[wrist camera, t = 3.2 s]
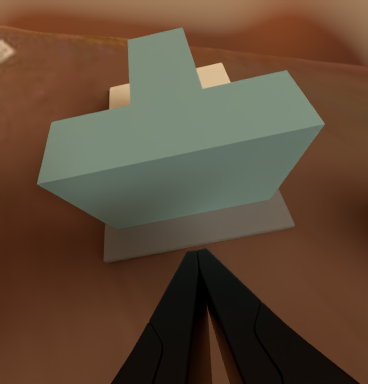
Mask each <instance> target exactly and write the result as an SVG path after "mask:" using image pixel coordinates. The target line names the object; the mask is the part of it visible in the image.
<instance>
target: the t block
mask: <svg viewBox="0 0 368 384" xmlns="http://www.w3.org/2000/svg"><path fill="white" fill-rule="evenodd" d="M128 58H129V83H130V105H127V106H123V107H118V108H114V109H109V110H105V111H100V112H96V113H91V114H87V115H82V116H78V117H73V118H69V119H64V120H59V121H55V122H52V123H51V127H50V131H49V135H48V140H47V144H46V148H45V152H44V156H43V161H42V165H41V169H40V173H39V177H38V182H37V185H39V186H41V187H43V188H44V189H46V190H48V191H50V192H51V193H53V194H55V195H57V196H58V197H60V198H62V199H64V200H65V201H67V202H69V203H71V204H72V205H74V206H76V207H78V208H79V209H81V210H83V211H85V212H86V213H88V214H90V215H92V216H93V217H95V218H97V219H98V220H100V221H102V222H104V223H105V224H107V225H109V226H111V227H112V228H114V229H121V228H127V227H132V226H137V225H142V224H147V223H152V222H157V221H162V220H167V219H172V218H177V217H183V216H188V215H193V214H198V213H203V212H208V211H213V210H218V209H223V208H228V207H234V206H239V205H244V204H249V203H254V202H259V201H264V200H269V199H271V197H272V196H273V195H274V193H275V192H276V190H277V189H278V188H279V186H280V185H281V184H282V182H283V181H284V179H285V178H286V177H287V175H288V174H289V173H290V171H291V170H292V169H293V167H294V166H295V164H296V163H297V162H298V160H299V159H300V158H301V156H302V155H303V153H304V152H305V151H306V149H307V148H308V147H309V145H310V144H311V142H312V141H313V140H314V138H315V137H316V136H317V134H318V133H319V131H320V130H321V129H322V127H323V126H324V125H325V123H324V122H323V121H322V119H321V118H320V116H319V115H318V114H317V112H316V111H315V109H314V108H313V107H312V105H311V104H310V102H309V101H308V100H307V98H306V97H305V95H304V94H303V93H302V91H301V90H300V88H299V87H298V86H297V84H296V83H295V82H294V80H293V79H292V77H291V76H290V75H289V73H288V72H287V70H286V71H281V72H277V73H272V74H268V75H263V76H259V77H254V78H250V79H245V80H240V81H236V82H231V83H227V84H222V85H218V86H213V87H209V88H204V89H203V88H202V85H201V82H200V79H199V76H198V73H197V70H196V67H195V64H194V61H193V58H192V55H191V52H190V49H189V46H188V43H187V40H186V37H185V34H184V31H183V28H179V29H174V30H169V31H165V32H161V33H157V34H152V35H148V36H144V37H140V38H135V39H131V40H128Z"/></svg>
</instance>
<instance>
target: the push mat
mask: <svg viewBox="0 0 368 384" xmlns="http://www.w3.org/2000/svg"><path fill="white" fill-rule="evenodd" d="M196 70H197V73H198V76H199V79H200V82H201V85H202V88H203V89H204V88H209V87H213V86H218V85H222V84H227V83H231V82H230V80H229V78H228V76H227V74H226V71H225V69H224V67H223V65H222V63H218V64H214V65H209V66H205V67H200V68H196ZM127 105H130V83H129V84H125V85H121V86H116V87H112V88H110V100H109V109H114V108H118V107H123V106H127ZM293 226H295V224H294V222H293V219H292V217H291V215H290V213H289V211H288V208H287V206H286V204H285V202H284V200H283V197H282V195H281V193H280V191H279V189H277V190H276V192H275V193H274V195H273V196H272V197H271V199H269V200H264V201H259V202H254V203H249V204H244V205H239V206H234V207H228V208H223V209H218V210H213V211H208V212H203V213H198V214H193V215H188V216H183V217H177V218H172V219H167V220H162V221H157V222H152V223H147V224H142V225H137V226H132V227H127V228H121V229H114V228H112V227H111V226H109V225H107V224H105V234H104V261H103V262H107V263H110V262H115V261H120V260H126V259H131V258H136V257H141V256H147V255H152V254H157V253H162V252H168V251H173V250H178V249H184V248H189V247H194V246H199V245H205V244H210V243H215V242H220V241H226V240H231V239H236V238H241V237H247V236H252V235H257V234H263V233H268V232H273V231H278V230H284V229H289V228H292V227H293Z"/></svg>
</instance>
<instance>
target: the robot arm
mask: <svg viewBox="0 0 368 384" xmlns="http://www.w3.org/2000/svg"><path fill="white" fill-rule="evenodd" d="M207 307H208V310H207ZM208 311H209V315H210V318H211V321H212V325H213V328H214V332H215V335H216V338H217V342H218V345H219V348H220V352H221V355H222V359H223V362H224V365H225V369H226V372H227V375H228V379H229V382H230V384H360V383H358V382H357V381H356V380H355V379H353V378H352V377H351V376H350V375H348V374H347V373H346V372H345V371H343V370H342V369H341V368H340V367H338V366H337V365H336V364H335V363H333V362H332V361H331V360H329V359H328V358H327V357H326V356H324V355H323V354H322V353H321V352H319V351H318V350H317V349H316V348H314V347H313V346H312V345H311V344H309V343H308V342H307V341H306V340H304V339H303V338H302V337H301V336H300V335H298V334H297V333H296V332H295V331H294V330H292V329H291V328H290V327H289V326H288V325H287V324H285V323H284V322H283V321H282V320H281V319H280V318H279V317H278V316H277V315H276V314H274V313H273V312H272V311H271V310H270V309H269V308H268V307H267V306H266V305H265V304H264V303H262V302H261V300H260V299H259V298H258V297H257V296H256V295H255V294H254V293H252V292H251V291H250V290H249V289H248V288H247V287H246V286H245V285H244V284H243V283H242V282H241V281H240V280H239V279H238V278H237V277H236V276H235V275H234V274H233V273H232V272H231V271H230V270H229V269H228V268H227V267H225V266H224V265H223V264H222V263H221V262H220V261H219V260H218V259H217V258H216V257H215V256H214V255H213V254H212V253H211V252H210V251H209V250H208V249H206V248H205V249H199V250H197V251H196V250H194V251H189V252H187V253H186V254H185V256H184V258H183V260H182V262H181V264H180V265H179V267H178V269H177V271H176V273H175V275H174V276H173V278H172V280H171V282H170V284H169V285H168V287H167V289H166V291H165V293H164V295H163V296H162V298H161V300H160V302H159V304H158V306H157V307H156V309H155V311H154V313H153V315H152V317H151V318H150V320H149V323H148V324H147V325H146V327H145V329H144V331H143V333H142V335H141V336H140V338H139V340H138V341H137V343H136V345H135V347H134V348H133V350H132V352H131V353H130V355H129V357H128V358H127V360H126V361H125V363H124V364H123V366H122V367H121V369H120V371H119V372H118V374H117V375H116V377H115V378H114V380H113V381H112V383H111V384H212V375H211V358H210V341H209V324H208Z"/></svg>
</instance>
